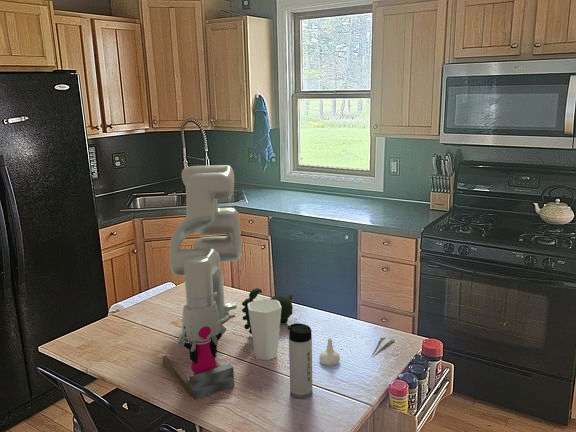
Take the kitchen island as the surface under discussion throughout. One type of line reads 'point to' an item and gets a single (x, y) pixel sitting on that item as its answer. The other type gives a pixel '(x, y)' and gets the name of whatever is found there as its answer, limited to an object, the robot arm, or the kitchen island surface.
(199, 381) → the guide channel
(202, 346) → the pepper mill
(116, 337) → the kitchen island surface
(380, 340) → the tweezers
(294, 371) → the travel mug
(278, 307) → the cup
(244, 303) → the toy figurine
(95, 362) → the kitchen island surface
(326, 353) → the garlic bulb
